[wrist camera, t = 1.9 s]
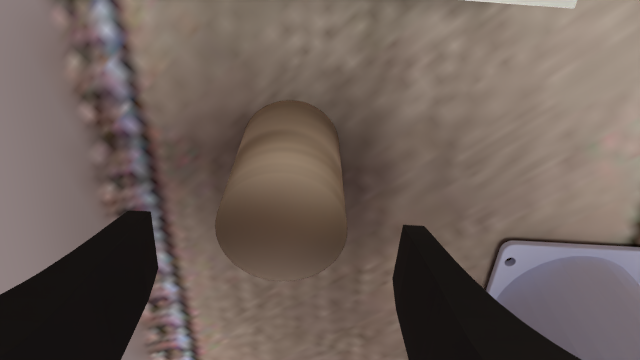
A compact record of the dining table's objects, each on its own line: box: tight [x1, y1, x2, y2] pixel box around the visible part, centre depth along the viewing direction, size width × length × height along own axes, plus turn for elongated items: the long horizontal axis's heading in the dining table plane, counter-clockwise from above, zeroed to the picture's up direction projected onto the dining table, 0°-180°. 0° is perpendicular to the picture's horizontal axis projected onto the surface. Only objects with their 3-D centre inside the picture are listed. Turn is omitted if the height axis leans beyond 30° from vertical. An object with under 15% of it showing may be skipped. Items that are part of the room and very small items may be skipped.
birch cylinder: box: [215, 100, 347, 281], centre depth 17 cm, size 4×4×6 cm
